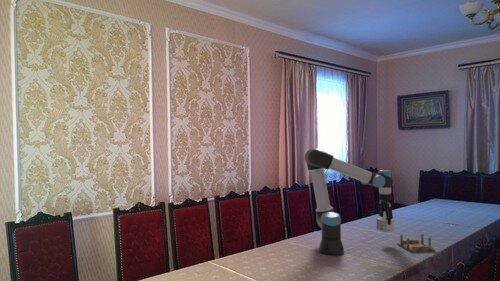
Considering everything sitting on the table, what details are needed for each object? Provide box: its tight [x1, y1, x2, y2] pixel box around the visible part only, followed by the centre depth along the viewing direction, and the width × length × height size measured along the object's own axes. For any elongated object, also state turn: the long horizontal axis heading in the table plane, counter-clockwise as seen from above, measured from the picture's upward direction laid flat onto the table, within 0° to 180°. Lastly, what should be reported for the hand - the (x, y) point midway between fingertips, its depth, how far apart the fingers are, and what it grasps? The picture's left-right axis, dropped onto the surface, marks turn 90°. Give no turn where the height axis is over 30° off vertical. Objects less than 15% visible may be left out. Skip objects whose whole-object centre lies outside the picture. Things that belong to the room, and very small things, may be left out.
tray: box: [396, 233, 436, 253], centre depth 219 cm, size 16×16×8 cm
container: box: [376, 210, 395, 233], centre depth 228 cm, size 8×8×13 cm
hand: (385, 227), depth 227 cm, fingers closed on container, 9 cm apart
